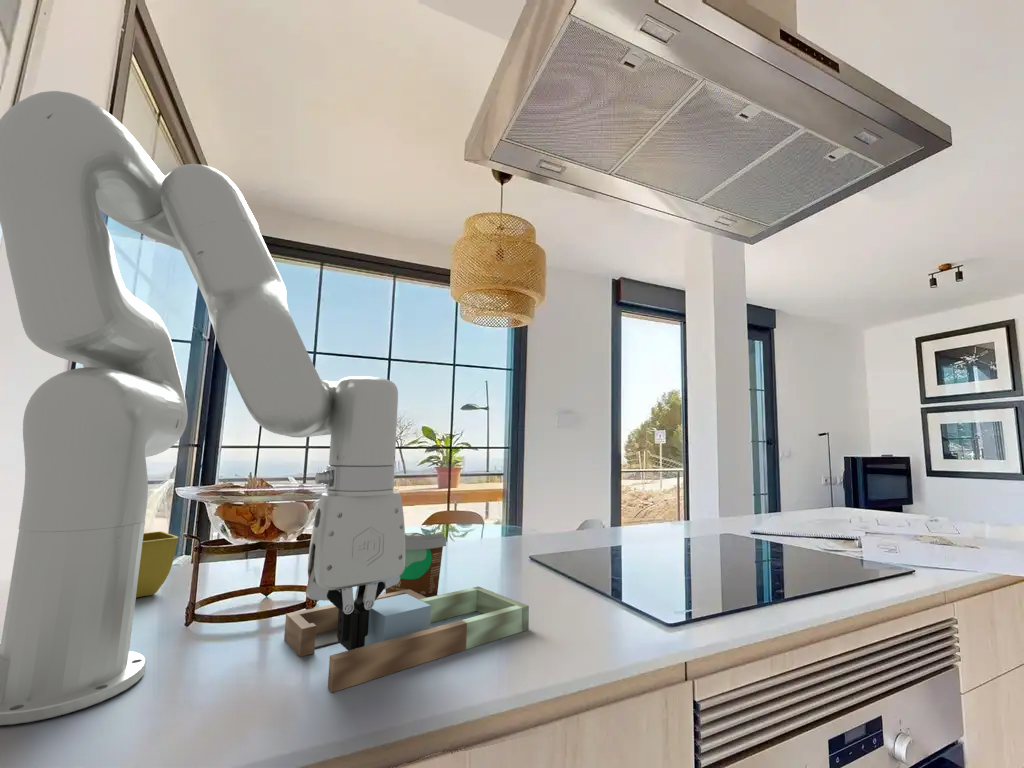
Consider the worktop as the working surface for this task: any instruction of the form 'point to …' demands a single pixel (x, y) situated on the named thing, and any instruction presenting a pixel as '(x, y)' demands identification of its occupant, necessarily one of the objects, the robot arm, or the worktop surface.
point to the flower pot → (155, 561)
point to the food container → (421, 564)
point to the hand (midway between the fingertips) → (352, 645)
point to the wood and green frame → (410, 649)
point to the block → (397, 618)
